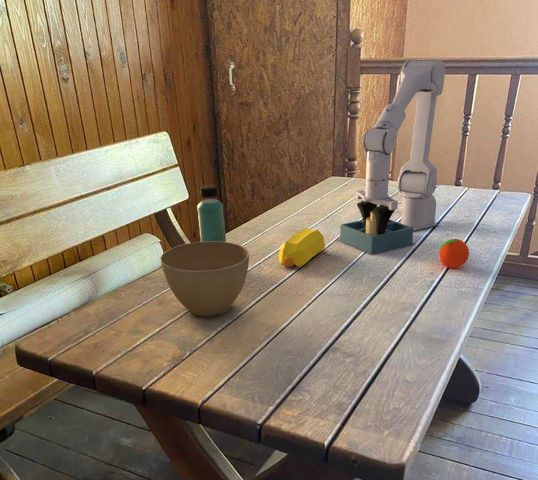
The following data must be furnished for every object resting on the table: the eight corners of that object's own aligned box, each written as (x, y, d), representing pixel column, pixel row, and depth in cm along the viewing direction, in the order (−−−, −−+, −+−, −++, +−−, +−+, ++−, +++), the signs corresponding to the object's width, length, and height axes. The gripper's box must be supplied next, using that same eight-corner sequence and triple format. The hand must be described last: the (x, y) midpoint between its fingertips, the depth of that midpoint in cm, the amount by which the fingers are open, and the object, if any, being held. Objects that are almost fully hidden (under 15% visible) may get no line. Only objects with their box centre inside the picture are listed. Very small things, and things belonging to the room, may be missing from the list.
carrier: (379, 231, 168) (380, 216, 165) (412, 244, 157) (413, 227, 155) (339, 240, 162) (340, 224, 160) (371, 254, 151) (372, 237, 149)
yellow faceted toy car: (273, 268, 144) (301, 272, 141) (272, 242, 141) (301, 246, 138) (303, 246, 158) (329, 249, 155) (302, 222, 155) (329, 225, 152)
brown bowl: (169, 332, 115) (161, 274, 109) (165, 297, 131) (159, 245, 125) (258, 321, 118) (255, 265, 112) (244, 288, 134) (241, 237, 128)
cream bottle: (375, 237, 157) (376, 208, 153) (386, 242, 154) (388, 212, 150) (361, 240, 155) (363, 211, 151) (372, 245, 152) (374, 215, 148)
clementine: (445, 275, 137) (449, 246, 133) (427, 265, 142) (430, 237, 139) (473, 269, 139) (477, 240, 136) (454, 260, 145) (458, 232, 141)
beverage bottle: (224, 271, 144) (218, 190, 134) (199, 270, 145) (190, 189, 136) (231, 262, 149) (225, 183, 140) (206, 261, 151) (199, 183, 141)
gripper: (347, 176, 151) (345, 227, 157) (383, 186, 139) (380, 241, 146) (368, 172, 154) (366, 222, 160) (405, 182, 142) (401, 235, 149)
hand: (374, 231), depth 153 cm, fingers closed on cream bottle, 4 cm apart
